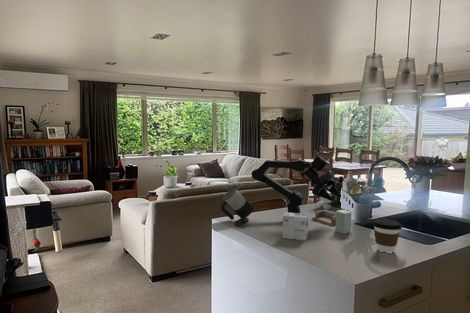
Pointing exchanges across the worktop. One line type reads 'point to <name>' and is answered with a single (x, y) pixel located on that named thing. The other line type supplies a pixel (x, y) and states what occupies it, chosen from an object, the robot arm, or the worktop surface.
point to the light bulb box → (295, 226)
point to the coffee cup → (386, 234)
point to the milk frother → (237, 206)
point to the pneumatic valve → (327, 204)
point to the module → (343, 221)
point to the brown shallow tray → (325, 217)
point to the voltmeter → (338, 186)
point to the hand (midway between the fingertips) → (336, 198)
